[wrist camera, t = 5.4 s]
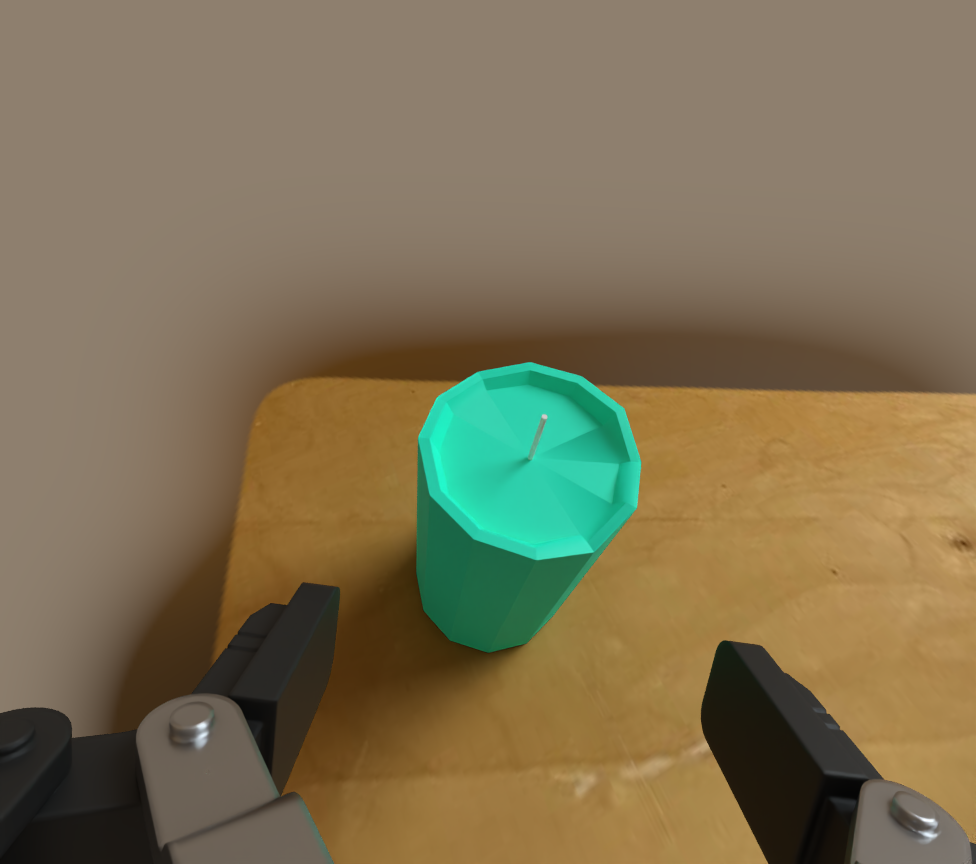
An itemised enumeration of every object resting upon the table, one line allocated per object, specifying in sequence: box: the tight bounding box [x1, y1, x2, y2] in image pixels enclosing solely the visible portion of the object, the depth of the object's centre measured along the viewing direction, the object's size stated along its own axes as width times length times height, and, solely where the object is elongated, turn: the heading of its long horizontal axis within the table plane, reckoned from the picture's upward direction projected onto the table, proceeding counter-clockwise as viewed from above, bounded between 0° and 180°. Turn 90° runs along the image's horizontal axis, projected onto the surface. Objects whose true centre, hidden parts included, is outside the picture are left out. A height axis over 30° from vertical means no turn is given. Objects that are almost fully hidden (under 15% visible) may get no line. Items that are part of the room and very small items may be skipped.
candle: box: [416, 362, 641, 653], centre depth 19 cm, size 6×6×12 cm
